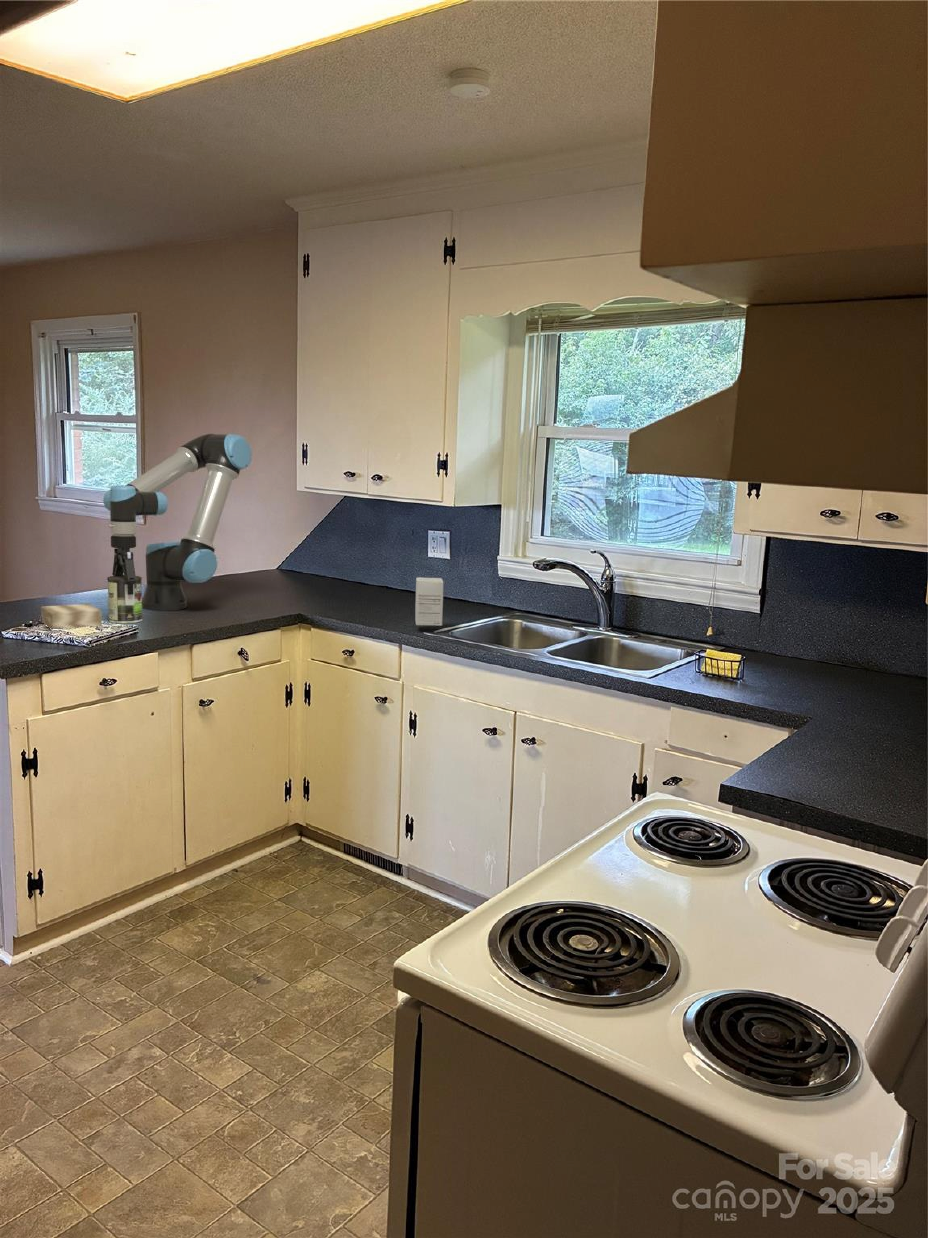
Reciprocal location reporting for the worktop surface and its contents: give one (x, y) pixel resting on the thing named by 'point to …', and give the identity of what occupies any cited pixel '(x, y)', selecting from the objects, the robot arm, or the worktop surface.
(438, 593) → the supplement box
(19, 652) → the worktop surface
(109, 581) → the coffee can
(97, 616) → the birch block
